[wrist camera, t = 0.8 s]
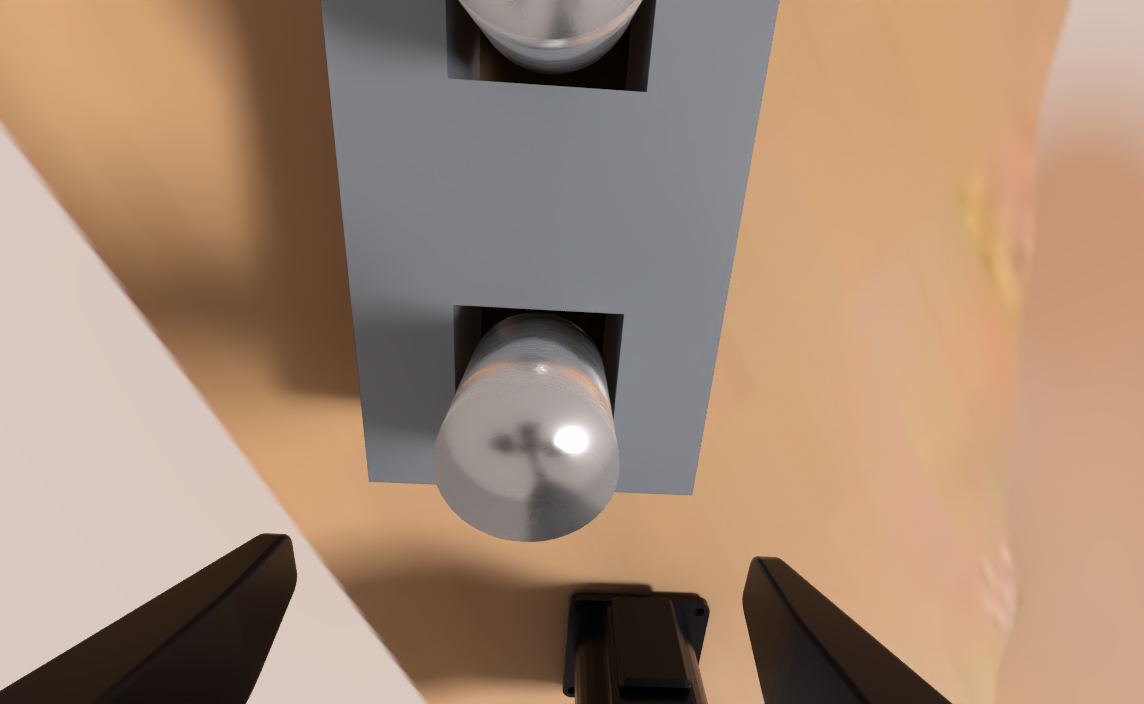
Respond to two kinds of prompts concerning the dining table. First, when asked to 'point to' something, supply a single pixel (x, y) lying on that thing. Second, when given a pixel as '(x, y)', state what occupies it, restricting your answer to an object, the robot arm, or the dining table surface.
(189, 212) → the dining table surface
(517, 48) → the peg
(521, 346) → the peg
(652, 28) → the socket block
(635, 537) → the dining table surface
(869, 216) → the dining table surface
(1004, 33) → the dining table surface
